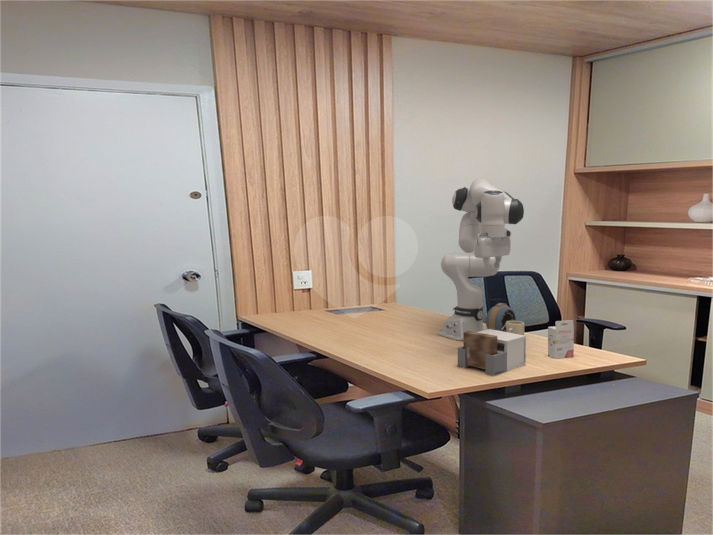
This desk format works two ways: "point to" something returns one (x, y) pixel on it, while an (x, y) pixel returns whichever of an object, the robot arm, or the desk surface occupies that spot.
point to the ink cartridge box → (561, 339)
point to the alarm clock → (499, 317)
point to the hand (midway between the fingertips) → (492, 268)
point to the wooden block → (479, 348)
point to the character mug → (515, 327)
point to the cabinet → (501, 352)
